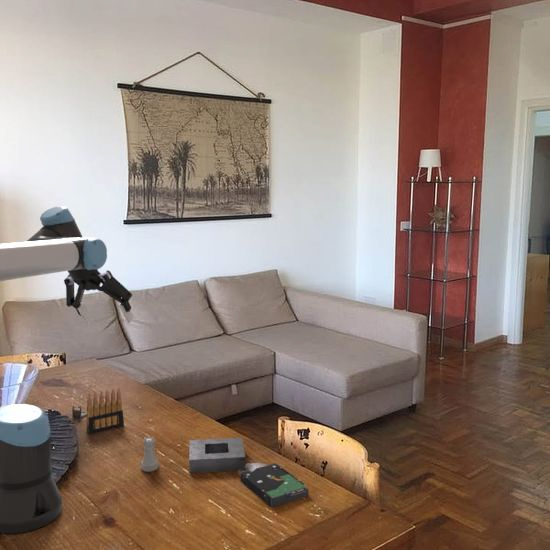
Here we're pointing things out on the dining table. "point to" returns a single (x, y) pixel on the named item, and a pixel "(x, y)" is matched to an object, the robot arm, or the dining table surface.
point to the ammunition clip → (104, 412)
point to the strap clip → (77, 414)
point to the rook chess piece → (149, 455)
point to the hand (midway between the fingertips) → (110, 321)
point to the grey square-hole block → (216, 455)
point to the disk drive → (274, 485)
